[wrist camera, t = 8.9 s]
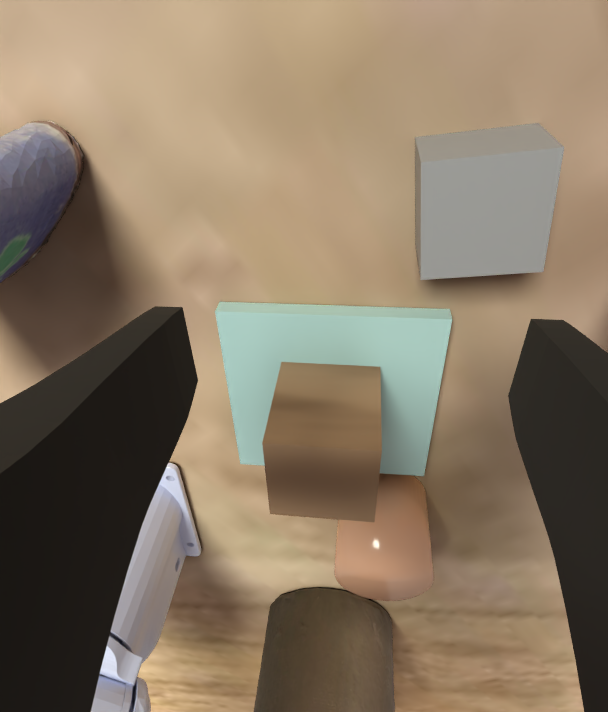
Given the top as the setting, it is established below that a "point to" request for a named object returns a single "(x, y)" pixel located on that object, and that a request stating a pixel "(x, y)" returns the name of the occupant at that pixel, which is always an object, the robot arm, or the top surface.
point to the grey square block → (485, 201)
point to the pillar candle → (326, 654)
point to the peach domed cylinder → (388, 544)
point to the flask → (34, 189)
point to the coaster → (341, 347)
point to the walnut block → (324, 441)
